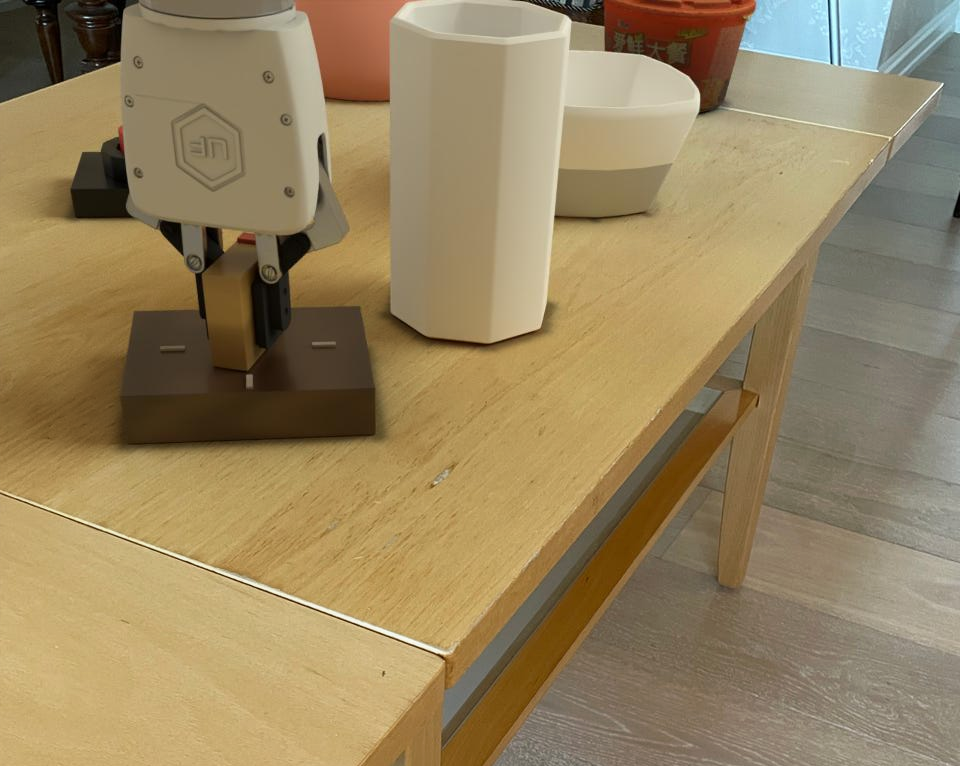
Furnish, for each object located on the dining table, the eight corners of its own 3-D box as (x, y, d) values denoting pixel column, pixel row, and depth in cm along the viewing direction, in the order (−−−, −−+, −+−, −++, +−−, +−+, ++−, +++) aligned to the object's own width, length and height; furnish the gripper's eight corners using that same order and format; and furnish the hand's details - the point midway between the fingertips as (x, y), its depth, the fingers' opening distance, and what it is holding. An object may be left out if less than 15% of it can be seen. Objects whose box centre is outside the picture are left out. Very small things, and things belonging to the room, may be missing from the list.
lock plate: (127, 444, 65) (119, 393, 63) (140, 355, 73) (133, 308, 71) (376, 434, 67) (375, 385, 65) (361, 349, 75) (360, 303, 73)
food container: (604, 70, 131) (616, -37, 124) (745, 88, 128) (764, -21, 122) (575, 108, 119) (586, -9, 113) (729, 128, 117) (750, 9, 110)
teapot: (486, 67, 130) (492, -71, 121) (490, 111, 117) (497, -40, 109) (263, 57, 129) (253, -83, 120) (242, 99, 116) (230, -54, 107)
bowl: (457, 161, 105) (461, 48, 99) (643, 158, 108) (658, 48, 102) (500, 235, 92) (508, 110, 85) (710, 228, 95) (732, 107, 89)
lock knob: (247, 372, 66) (239, 274, 62) (211, 366, 66) (200, 269, 62) (284, 328, 70) (278, 235, 67) (250, 323, 71) (242, 230, 67)
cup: (444, 265, 86) (452, -13, 74) (576, 303, 82) (607, 15, 70) (357, 317, 79) (351, 17, 67) (498, 361, 75) (517, 50, 63)
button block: (75, 217, 90) (65, 165, 88) (86, 178, 97) (78, 128, 94) (218, 216, 92) (213, 164, 89) (219, 177, 99) (215, 128, 96)
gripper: (23, -21, 54) (90, 343, 66) (352, 13, 52) (360, 384, 64) (97, -49, 60) (147, 292, 72) (396, -19, 58) (396, 327, 69)
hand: (247, 332), depth 68 cm, fingers closed on lock knob, 2 cm apart
